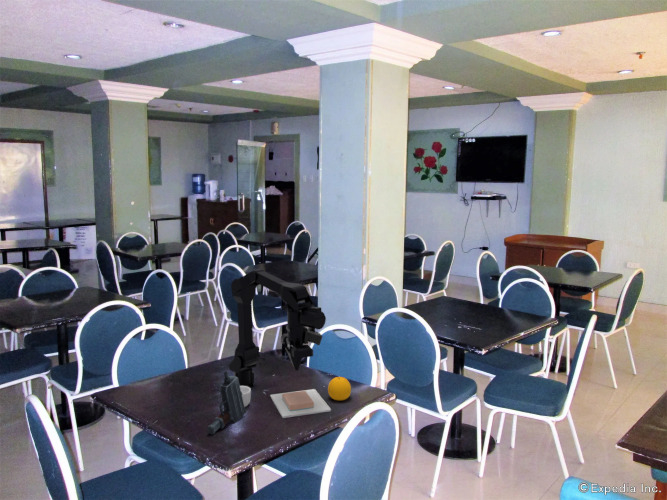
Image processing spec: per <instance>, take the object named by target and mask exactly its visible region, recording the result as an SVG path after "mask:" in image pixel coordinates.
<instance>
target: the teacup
mask: <svg viewBox="0 0 667 500" xmlns="http://www.w3.org/2000/svg"><path fill="white" fill-rule="evenodd" d="M240 389H241V392H242V399H243V403H244V408H246V407H247V406H248V405H249V404H250V402H251V397H252V390H251V389H252V388H251V387H247V386H240Z"/></svg>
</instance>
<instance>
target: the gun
mask: <svg viewBox="0 0 667 500" xmlns="http://www.w3.org/2000/svg"><path fill="white" fill-rule="evenodd" d="M223 376H224V378H223V382H222V383H221V384H220V386H219V394H220V398H221V402H220V403H219V407H218V408H219V412H220V414H219V415H218V416H217V417H215V418H214V421H213V422H212V424H209V425H208V426H207V432H208V433H209V435H213V436H214V435H215V434H216V432H217V431H218V430H219V429H224V428H225V426H226V424H228V423H229V422H231V423H235V424H236V423H238V421H239V420H240V419H241V418H242V417H243V416H244V415H245V414H246V413H247V412H248V410H247V409H246V407H244V403H243V399H242V392H241V389H240V385H239V380H238V377H234V375H233V376H232V375H229V371H228V370H225V371H223Z"/></svg>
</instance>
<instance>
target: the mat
mask: <svg viewBox="0 0 667 500" xmlns="http://www.w3.org/2000/svg"><path fill="white" fill-rule="evenodd" d="M299 391H300V390H297V391H295V392H299ZM302 391H306V393H307V394H308V395H309V397H310V398H311V399H312V401H313V402H314V408H310V409H303V410H296V411H289V409H288V408H287V406H286V405H285V403H284V401H283V400H282V394H284V393H285V392H282V393H273V394H270V395H269V396H270V399H271V400H272V403H273V404H274V406H275V408H276V409H277V410H278V413H279V414H280V416H281V418H282V419H287V418H291V417H300V416H301V417H302V416H306V415H307V416H308V415H313V414H314V415H315V414H321V413H327V412H332V409H331V407H330V406H329V405H328V404H327V402H326V401H325V400H324V399H323V397H322V396H321V395H320V393H319V392H318V391H317V390H316V388H312V389H306V390H305V389H304V390H302ZM291 392H292V391H288V392H287V393H291Z"/></svg>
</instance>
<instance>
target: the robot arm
mask: <svg viewBox="0 0 667 500" xmlns="http://www.w3.org/2000/svg"><path fill="white" fill-rule="evenodd" d="M258 286H262V287H264V288H266V289H268V290H270V291H271V292H274V293H275V294H277V295H278V296H279V297H280V300H282V301H283V302H284V303H285V304H284V305H283V306H282V310H286V311H287V312H286V314H287V317H286V319H287V322H286V323H287V324H286V326H285V329H286V330H287V333H283V334H281V337H280V343H282V345H285V343H286V344H287V346H285V347H284V348H285V350H286V353H287V355H288V357H289V360H290V362H291V364H292V366H293V368H294V371H299V370H300V366H301V363H302V359H303V358H311V357H312V358H313V357H314V349H312V348H313V347H311V346H310V345H309V343H312V344H316V345H317V346H320V345H321V342H322V340H323V339H322V338H323V335H322V334H321V333H320V332H318V331H317V330H322V329H323V328H324V326H325V324H326V321H327V318H326V315H325V313H324V312H323V311H322V307H321V306H315V303H314V300H313V299H312V297H311V295H310V293H309V291H308V288H307V287H306V286H305V285H303V284H300V283H296V282H288V281H286V280H283V279H282V278H279V277H277V276H275V275H273V274H271V273H270V272H268V271H265V270H264V269H262V268H259V269H254V270H251V271H249V272H248V273H247V274H245V275H242V276H240V277H239V278H234V280H232V281H231V286H230V288H231V293H232V294H231V295H232V297H233V299H234V300H235V302H236V304H237V305H236V306H237V307H236V308H237V326H238V344H237V346H236V348H235V350H234V358H233V359H232V360H231V362H230V363H229V364H228V369H229V370H230V372H233V376H234V377H238V380H239V385H240V386H247V387H250V388H255V387H254V386H255V385H254V384H255V373H254V371H253V369H254V368H256V367H257V365H258V362H259V361H260V360H259V359H260V357H261V356H260V347H259V345H258V346H257V345H256V344H255V342H254V334H253V333H254V332H253V309H252V308H253V307H252V302H253V300H254V297H255V296H256V294H257V293H256V291H257V287H258Z"/></svg>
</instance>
